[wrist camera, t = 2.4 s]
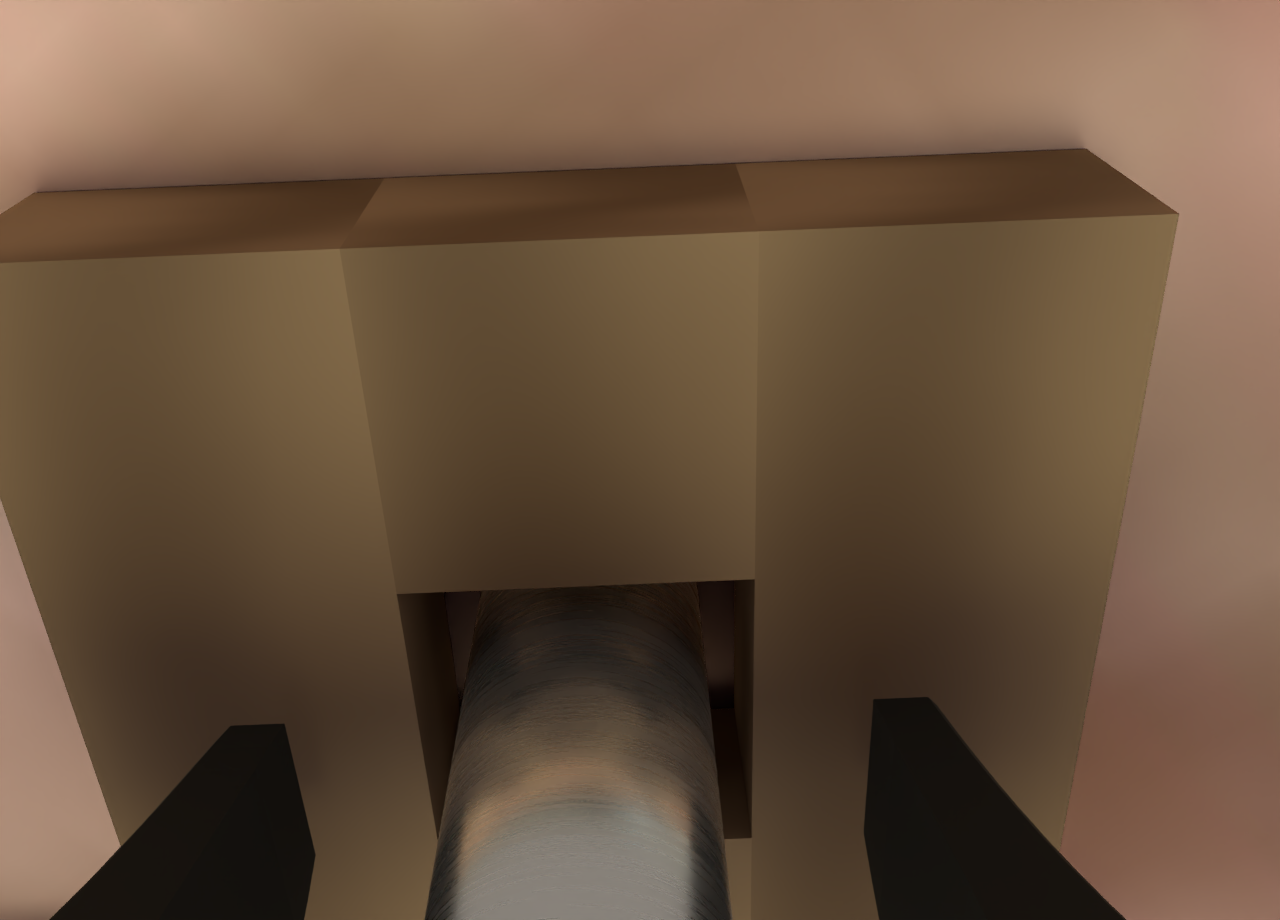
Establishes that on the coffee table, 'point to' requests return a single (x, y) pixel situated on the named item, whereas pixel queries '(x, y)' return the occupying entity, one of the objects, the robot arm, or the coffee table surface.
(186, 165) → the coffee table surface
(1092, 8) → the coffee table surface
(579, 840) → the pin
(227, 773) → the robot arm
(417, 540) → the pin block
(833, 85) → the coffee table surface
